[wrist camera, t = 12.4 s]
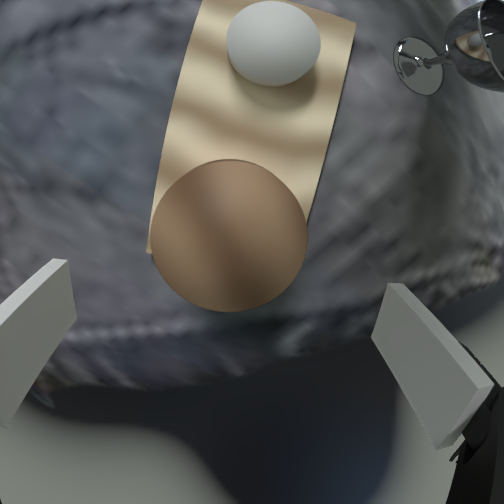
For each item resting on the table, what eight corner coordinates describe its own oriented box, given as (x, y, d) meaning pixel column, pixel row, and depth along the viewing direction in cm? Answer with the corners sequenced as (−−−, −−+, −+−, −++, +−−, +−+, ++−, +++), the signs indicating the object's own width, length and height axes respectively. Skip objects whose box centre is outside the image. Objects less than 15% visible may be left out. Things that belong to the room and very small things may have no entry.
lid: (265, 135, 22) (269, 134, 20) (318, 261, 26) (328, 276, 23) (135, 198, 23) (122, 207, 21) (199, 312, 27) (196, 331, 24)
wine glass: (376, 52, 26) (463, 14, 12) (419, 23, 25) (504, -12, 11) (419, 111, 29) (517, 111, 15) (457, 78, 27) (550, 70, 13)
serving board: (208, -9, 23) (207, -15, 22) (351, 27, 25) (356, 23, 24) (149, 247, 33) (146, 252, 31) (286, 274, 35) (289, 280, 33)
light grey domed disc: (290, 3, 23) (296, -9, 20) (326, 71, 26) (335, 65, 23) (213, 29, 24) (211, 18, 21) (248, 99, 27) (250, 95, 24)
